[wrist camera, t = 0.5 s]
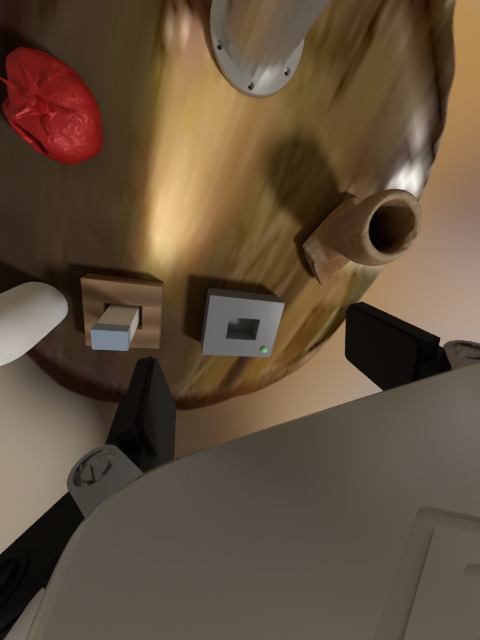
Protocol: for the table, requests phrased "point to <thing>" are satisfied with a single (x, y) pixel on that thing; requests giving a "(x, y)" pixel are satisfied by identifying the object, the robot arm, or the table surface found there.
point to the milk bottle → (28, 317)
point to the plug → (115, 327)
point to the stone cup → (364, 233)
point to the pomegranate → (51, 107)
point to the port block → (240, 323)
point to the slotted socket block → (127, 292)
